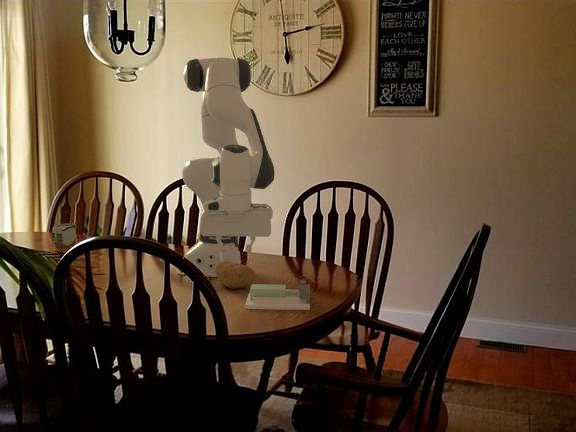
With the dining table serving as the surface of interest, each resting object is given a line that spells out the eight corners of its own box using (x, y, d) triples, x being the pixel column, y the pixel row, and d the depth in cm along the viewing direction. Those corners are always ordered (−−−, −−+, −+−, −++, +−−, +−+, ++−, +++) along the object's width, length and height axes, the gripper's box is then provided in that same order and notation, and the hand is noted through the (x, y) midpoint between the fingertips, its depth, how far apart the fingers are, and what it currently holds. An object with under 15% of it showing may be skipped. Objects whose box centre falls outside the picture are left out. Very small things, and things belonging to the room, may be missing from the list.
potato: (242, 295, 183) (242, 269, 182) (208, 287, 191) (207, 262, 190) (262, 288, 191) (262, 263, 189) (229, 280, 199) (228, 256, 198)
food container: (63, 246, 247) (61, 222, 245) (77, 247, 246) (76, 223, 244) (47, 253, 235) (45, 227, 233) (62, 254, 234) (60, 228, 232)
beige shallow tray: (245, 308, 170) (245, 288, 169) (248, 296, 182) (248, 277, 181) (309, 309, 170) (310, 289, 169) (309, 297, 182) (309, 278, 181)
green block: (250, 300, 173) (250, 289, 173) (251, 295, 178) (251, 284, 178) (285, 301, 173) (285, 289, 173) (285, 296, 178) (285, 284, 178)
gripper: (273, 202, 174) (272, 249, 177) (201, 201, 175) (202, 248, 177) (272, 205, 168) (271, 254, 171) (198, 204, 168) (198, 253, 171)
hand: (235, 251), depth 174 cm, fingers open, 6 cm apart
